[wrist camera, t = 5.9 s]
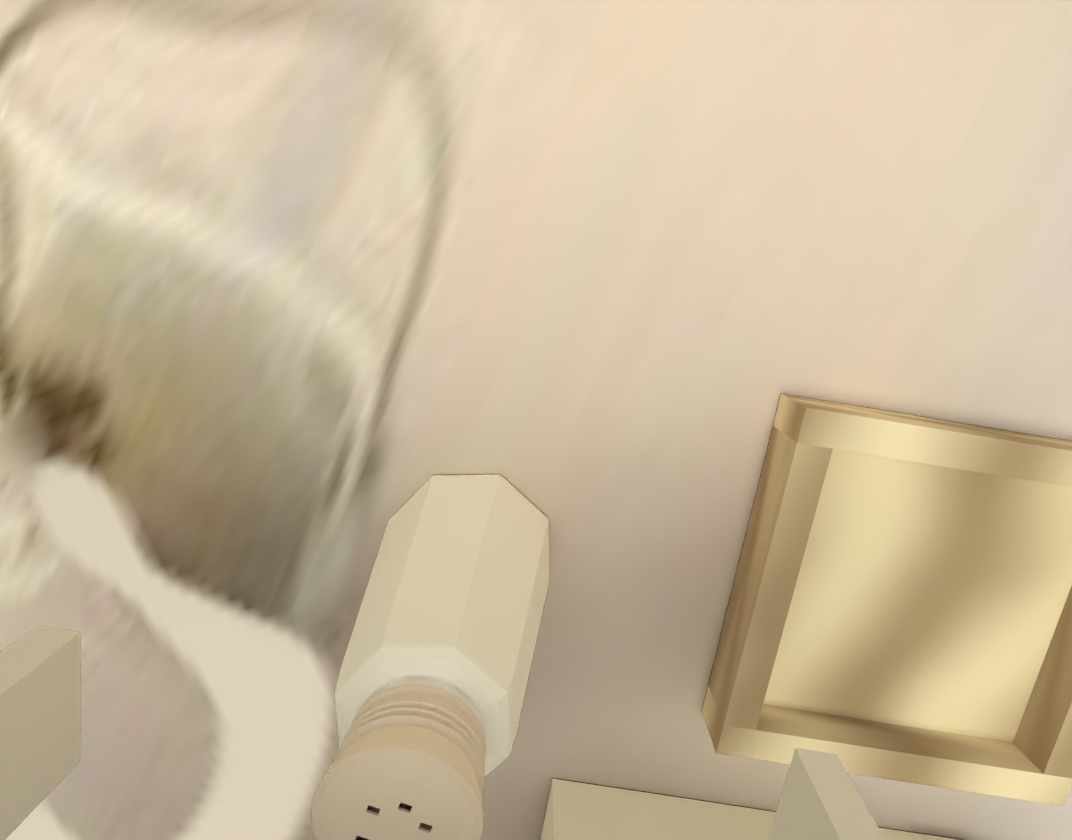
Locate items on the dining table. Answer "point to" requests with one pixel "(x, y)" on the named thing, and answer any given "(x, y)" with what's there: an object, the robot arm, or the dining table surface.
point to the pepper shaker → (436, 664)
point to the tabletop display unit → (656, 817)
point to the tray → (904, 604)
